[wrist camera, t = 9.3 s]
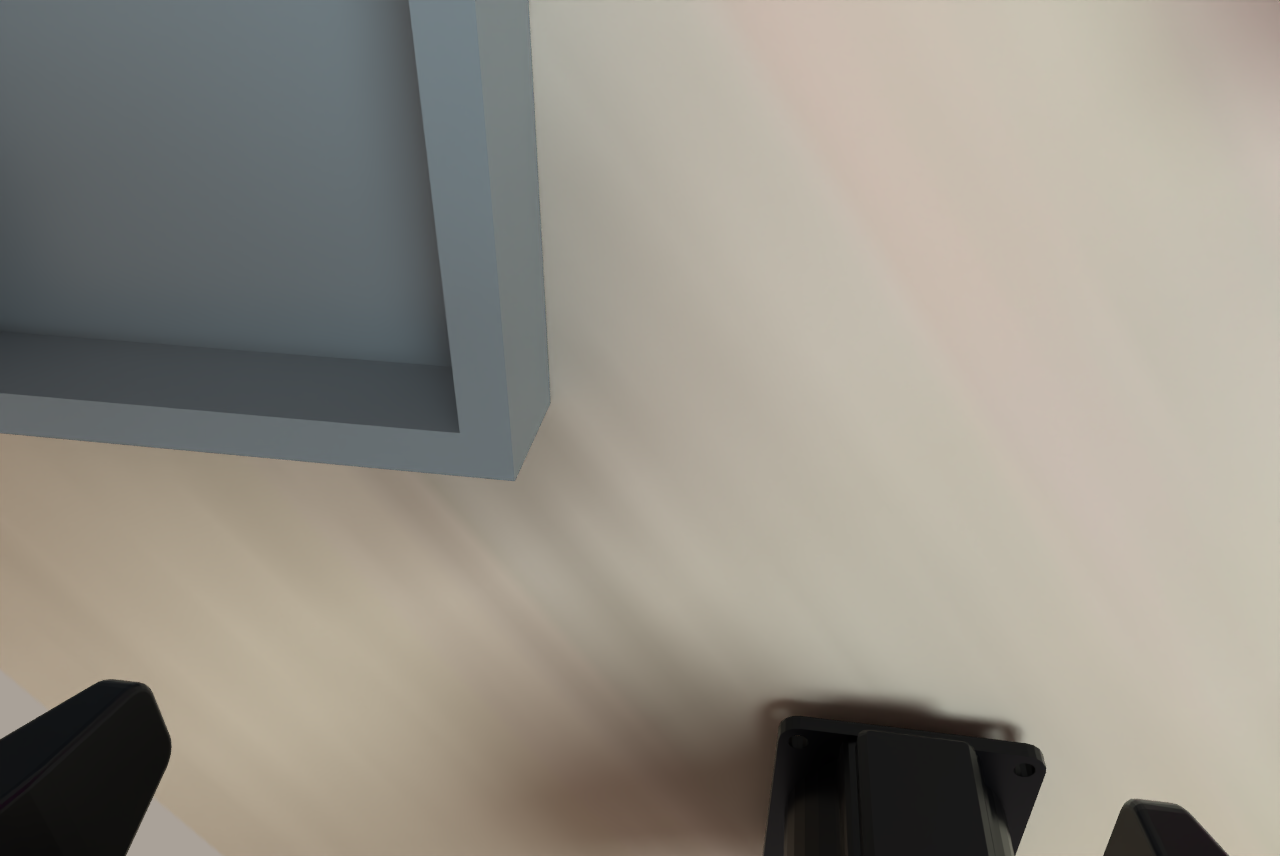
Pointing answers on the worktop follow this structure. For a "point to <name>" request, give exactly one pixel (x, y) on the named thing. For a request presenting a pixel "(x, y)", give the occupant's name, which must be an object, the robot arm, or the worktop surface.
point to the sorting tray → (274, 230)
